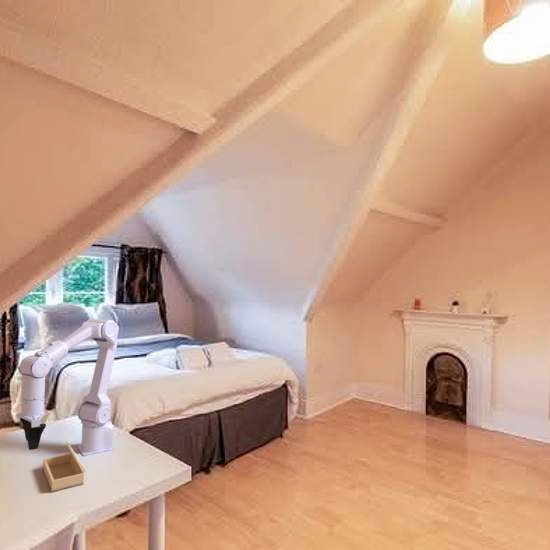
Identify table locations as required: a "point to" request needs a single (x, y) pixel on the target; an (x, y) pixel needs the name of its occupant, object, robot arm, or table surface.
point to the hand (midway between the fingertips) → (31, 444)
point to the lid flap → (75, 457)
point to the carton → (62, 472)
